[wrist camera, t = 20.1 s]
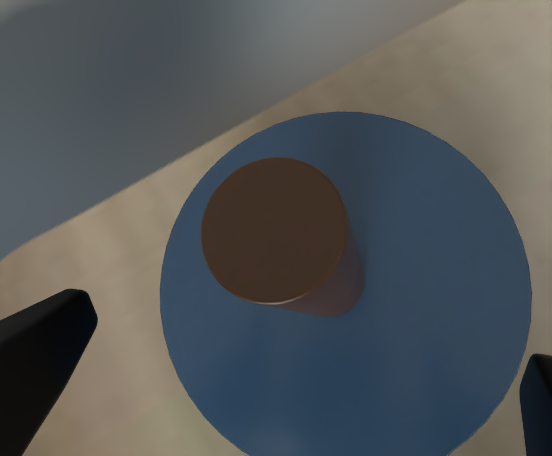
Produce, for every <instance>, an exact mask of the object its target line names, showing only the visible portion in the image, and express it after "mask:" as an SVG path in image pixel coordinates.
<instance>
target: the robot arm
mask: <svg viewBox="0 0 552 456" xmlns="http://www.w3.org/2000/svg"><path fill="white" fill-rule="evenodd" d="M97 322H98V318H97V314H96V312H95V309H94V307H93V304H92V302H91V299H90V297H89V295H88V293H87V292H86V291H84V290H77V289H66V290H64V291H62V292H59V293H57V294H55V295H53V296H51V297H49V298H47V299H45V300H43V301H40V302H38V303H36V304H34V305H32V306H30V307H28V308H26V309H23V310H21V311H19V312H17V313H15V314H13V315H11V316H9V317H7V318H4V319H2V320H0V456H22V455H23V453H24V452H25V450H26V448H27V447H28V445H29V444H30V442H31V441H32V439H33V437H34V436H35V434H36V433H37V431H38V430H39V428H40V426H41V425H42V423H43V422H44V420H45V419H46V417H47V415H48V414H49V412H50V411H51V409H52V408H53V406H54V404H55V403H56V401H57V400H58V398H59V397H60V395H61V393H62V392H63V390H64V388H65V387H66V385H67V383H68V381H69V379H70V377H71V375H72V373H73V372H74V370H75V368H76V366H77V364H78V362H79V360H80V358H81V356H82V354H83V352H84V350H85V348H86V346H87V344H88V342H89V340H90V339H91V337H92V335H93V333H94V331H95V329H96V326H97ZM519 394H520V405H521V413H522V422H523V430H524V438H525V446H526V455H527V456H552V356H551V355H544V354H533V355H532V356H531V357H530V359H529V362H528V364H527V367H526V370H525V373H524V375H523V378H522V381H521V384H520V392H519Z"/></svg>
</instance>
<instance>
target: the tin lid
mask: <svg viewBox="0 0 552 456" xmlns="http://www.w3.org/2000/svg"><path fill="white" fill-rule="evenodd" d="M531 305H532V289H531V280H530V271H529V265H528V261H527V257H526V253H525V249H524V245H523V241H522V239H521V236H520V234H519V231H518V229H517V227H516V224H515V222H514V219H513V217H512V215H511V213H510V212H509V210H508V208H507V207H506V205H505V203H504V201H503V200H502V198H501V196H500V195H499V193H498V192H497V191H496V189H495V188H494V187H493V186H492V184H491V183H490V182H489V181H488V179H487V178H486V177H485V175H484V174H483V173H482V172H481V171H480V170H479V169H478V168H477V167H476V166H475V165H474V164H473V163H472V162H471V161H469V160H468V159H467V158H466V157H465V156H464V155H463V154H461V153H460V152H459V151H457V150H456V149H455V148H453V147H452V146H451V145H449V144H448V143H447V142H445V141H443V140H441V139H440V138H438V137H436V136H434V135H433V134H431V133H429V132H427V131H425V130H423V129H421V128H418V127H416V126H413V125H411V124H409V123H406V122H403V121H400V120H396V119H393V118H389V117H385V116H381V115H374V114H368V113H361V112H329V113H318V114H312V115H307V116H303V117H298V118H294V119H291V120H288V121H285V122H282V123H279V124H276V125H273V126H271V127H269V128H267V129H265V130H263V131H261V132H259V133H256V134H255V135H253V136H251V137H250V138H248V139H247V140H245V141H243V142H242V143H240V144H239V145H237V146H236V147H235V148H233V149H232V150H231V151H230V152H228V153H227V154H226V155H224V156H223V157H222V158H221V159H220V160H219V161H218V162H217V163H216V164H215V165H214V166H213V167H212V168H211V169H210V170H209V171H208V172H207V173H206V174H205V175H204V177H203V178H202V179H201V180H200V182H199V183H198V184H197V185H196V187H195V188H194V189H193V191H192V192H191V194H190V196H189V197H188V199H187V200H186V202H185V204H184V205H183V207H182V209H181V211H180V213H179V215H178V217H177V219H176V221H175V224H174V226H173V228H172V231H171V234H170V237H169V240H168V243H167V246H166V251H165V255H164V260H163V265H162V272H161V283H160V312H161V318H162V325H163V332H164V337H165V340H166V344H167V348H168V351H169V355H170V358H171V360H172V362H173V365H174V367H175V370H176V372H177V375H178V377H179V379H180V381H181V383H182V384H183V386H184V388H185V390H186V391H187V393H188V395H189V397H190V398H191V400H192V401H193V402H194V404H195V405H196V406H197V408H198V409H199V410H200V412H201V413H202V414H203V416H204V417H205V418H206V419H207V420H208V421H209V422H210V423H211V424H212V425H213V427H214V428H215V429H216V430H217V431H218V432H219V433H220V434H221V435H222V436H224V437H225V438H226V439H227V440H229V441H230V442H231V443H232V444H234V445H235V446H236V447H237V448H239V449H240V450H241V451H243V452H244V453H246V454H248V455H249V456H447V455H448V454H450V453H451V452H452V451H454V450H455V449H456V448H458V447H459V446H461V445H462V444H463V443H465V442H466V441H467V440H468V439H469V438H470V437H471V436H472V435H474V434H475V433H476V432H477V431H478V430H479V429H480V428H481V427H482V426H483V425H484V424H485V423H486V422H487V421H488V419H489V418H490V416H491V415H492V414H493V412H494V411H495V410H496V408H497V407H498V406H499V404H500V403H501V402H502V400H503V399H504V397H505V395H506V393H507V392H508V390H509V388H510V386H511V384H512V382H513V380H514V378H515V376H516V374H517V372H518V369H519V366H520V363H521V360H522V357H523V355H524V352H525V349H526V344H527V339H528V334H529V328H530V323H531Z"/></svg>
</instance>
